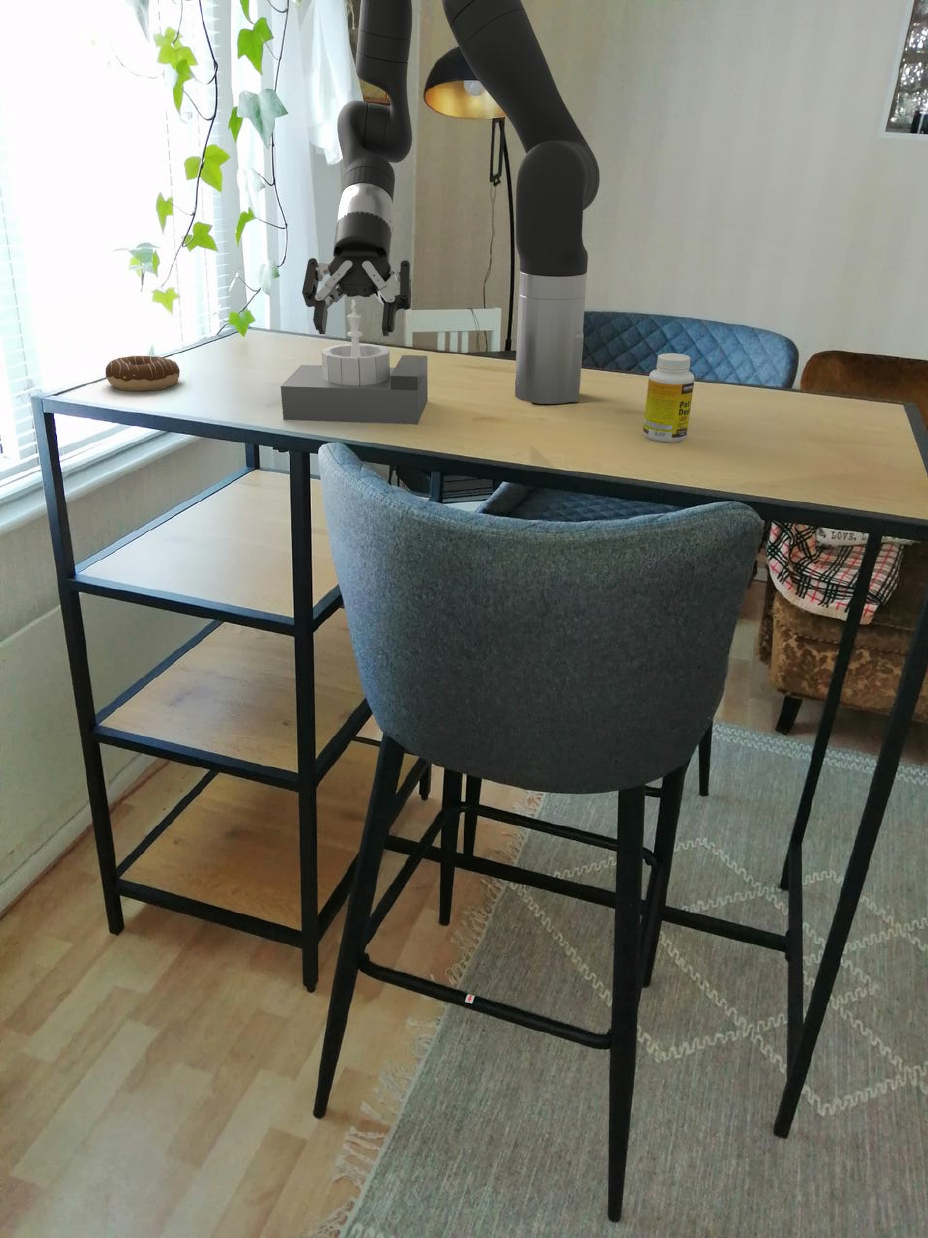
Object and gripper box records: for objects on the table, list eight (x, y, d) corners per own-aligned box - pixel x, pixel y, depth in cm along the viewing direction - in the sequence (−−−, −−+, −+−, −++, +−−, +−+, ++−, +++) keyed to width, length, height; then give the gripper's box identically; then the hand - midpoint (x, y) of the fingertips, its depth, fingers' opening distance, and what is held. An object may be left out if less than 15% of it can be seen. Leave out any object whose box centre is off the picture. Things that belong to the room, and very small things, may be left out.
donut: (95, 393, 135) (90, 365, 133) (123, 376, 144) (119, 349, 142) (167, 395, 134) (163, 367, 132) (191, 378, 143) (188, 351, 141)
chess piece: (378, 372, 128) (375, 297, 123) (371, 381, 124) (368, 303, 119) (342, 371, 129) (339, 296, 124) (334, 380, 124) (330, 302, 119)
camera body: (427, 400, 133) (427, 343, 129) (417, 424, 122) (417, 363, 119) (303, 396, 134) (299, 339, 130) (283, 419, 123) (278, 358, 120)
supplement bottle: (679, 446, 115) (689, 363, 111) (636, 439, 118) (645, 357, 113) (692, 435, 120) (702, 354, 115) (650, 428, 122) (659, 349, 117)
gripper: (307, 208, 123) (293, 313, 119) (413, 210, 123) (404, 316, 118) (318, 246, 131) (305, 346, 126) (418, 248, 130) (409, 349, 125)
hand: (353, 331), depth 122 cm, fingers open, 8 cm apart
